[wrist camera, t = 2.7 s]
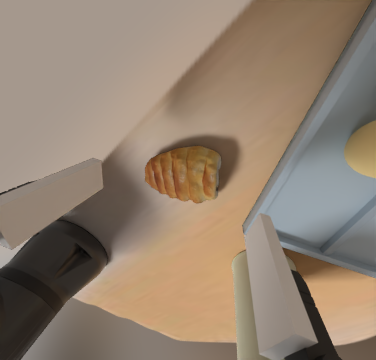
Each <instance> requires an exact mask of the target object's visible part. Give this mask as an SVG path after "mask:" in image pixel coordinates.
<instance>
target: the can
mask: <svg viewBox="0 0 376 360" xmlns="http://www.w3.org/2000/svg"><path fill="white" fill-rule="evenodd" d="M285 257H286V259H287V262H288V265H289V267H290V269H291V270H294V271H296V266H295V264H294V263H293V261H292V260H291V259H290V258H289V257H288V256H286V255H285ZM232 271H233V281H234V297H235V315H236V336H237V357H238V358H237V359H238V360H272V359H269V358H267V357H265V356H262V355H260V354H259V348H258V340H257V332H256V325H255V317H254V309H253V301H252V293H251V285H250V277H249V269H248V261H247V254H246V250H245V251H243V252H241V253H239V254H238V255H237V256H235V258H234V259H233V261H232ZM281 360H285V359H284V358H283V359H281Z"/></svg>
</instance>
